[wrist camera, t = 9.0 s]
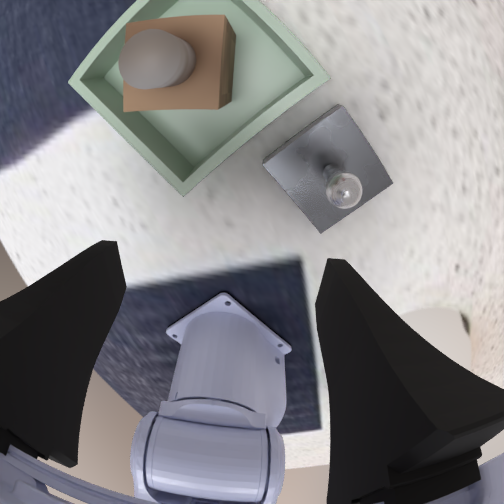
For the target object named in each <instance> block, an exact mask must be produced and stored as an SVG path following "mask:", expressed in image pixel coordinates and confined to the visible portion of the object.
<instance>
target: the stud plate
mask: <svg viewBox="0 0 504 504" xmlns="http://www.w3.org/2000/svg"><path fill="white" fill-rule="evenodd" d="M263 166H264V167H265V168H266V170H267V171H268V172H269V173H270V174H271V175H272V176H273V177H274V179H275V180H276V181H277V182H278V183H279V184H280V186H281V187H282V188H283V189H284V190H285V191H286V193H287V194H288V195H289V196H290V197H291V198H292V200H293V201H294V202H295V203H296V204H297V206H298V207H299V208H300V209H301V210H302V212H303V213H304V214H305V215H306V216H307V218H308V219H309V220H310V221H311V222H312V224H313V225H314V226H315V227H316V229H317V230H318V231H319V232H320V234H321V233H322V232H324V231H325V230H327V229H328V228H330V227H331V226H333V225H334V224H336V223H337V222H338V221H340V220H341V219H343V218H344V217H346V216H347V215H349V214H350V213H351V212H353V211H354V210H356V209H357V208H359V207H360V206H362V205H363V204H364V203H366V202H367V201H369V200H370V199H372V198H373V197H374V196H376V195H377V194H379V193H380V192H382V191H383V190H384V189H386V188H387V187H389V186H390V185H391V184H393V182H392V180H391V178H390V177H389V175H388V173H387V172H386V170H385V168H384V167H383V165H382V163H381V162H380V160H379V158H378V157H377V155H376V154H375V152H374V150H373V149H372V147H371V146H370V144H369V143H368V141H367V140H366V138H365V137H364V135H363V134H362V132H361V131H360V129H359V128H358V126H357V125H356V123H355V122H354V120H353V119H352V118H351V116H350V115H349V113H348V112H347V111H346V109H345V108H344V107H343V106H342V105H339V104H338V105H336V106H335V107H334V108H332V109H331V110H329V111H328V112H327V113H325V114H324V115H322V116H321V117H320V118H318V119H317V120H315V121H314V122H313V123H311V124H310V125H309V126H307V127H306V128H305V129H303V130H302V131H300V132H299V133H298V134H296V135H295V136H294V137H292V138H291V139H290V140H289V141H287V142H286V143H285V144H283V145H282V146H281V147H279V148H278V149H277V150H275V151H274V152H273V153H272V154H270V155H269V156H268V157H266V158H265V159H264V160H263Z"/></svg>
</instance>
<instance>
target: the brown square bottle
mask: <svg viewBox="0 0 504 504" xmlns="http://www.w3.org/2000/svg"><path fill="white" fill-rule="evenodd" d="M235 46H236V34H235V32H234V30H233V28H232V26H231V25H230V23H229V21H228V19H227V18H226V16H225V15H191V16H177V17H167V18H158V19H150V20H143V21H137V22H131V23H126V33H125V45H124V46H123V48H122V50H121V52H120V55H119V61H118V66H119V71H120V74H121V76H122V78H123V112H133V111H149V110H176V109H209V110H219V109H220V108H222V107H223V106H225V105H227V104H228V103H230V102H232V88H233V73H234V59H235Z"/></svg>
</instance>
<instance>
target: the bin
mask: <svg viewBox="0 0 504 504" xmlns="http://www.w3.org/2000/svg"><path fill="white" fill-rule="evenodd" d="M191 15H225V16H226V18H227V19H228V21H229V23H230V25H231V26H232V28H233V30H234V32H235V34H236V46H235V59H234V73H233V88H232V102H230V103H228V104H227V105H225V106H223V107H222V108H220V109H219V110H209V109H176V110H149V111H133V112H123V78H122V76H121V74H120V71H119V66H118V61H119V55H120V52H121V50H122V48H123V46H124V45H125V33H126V23H131V22H137V21H143V20H150V19H158V18H167V17H177V16H191ZM329 79H331V78H330V76H329V75H328V74H327V73H326V71H325V70H324V69H323V68H322V66H321V65H320V64H319V63H318V62H317V60H316V59H315V58H314V57H313V56H312V55H311V53H310V52H309V51H308V50H307V49H306V48H305V47H304V46H303V44H302V43H301V42H300V41H299V40H298V39H297V38H296V37H295V36H294V35H293V34H292V33H291V32H290V30H289V29H288V28H287V27H286V26H285V25H284V24H283V23H282V22H281V21H280V20H279V19H278V18H277V17H276V16H275V15H274V14H273V13H272V12H271V11H270V10H268V9H267V8H266V7H265V6H264V5H263V4H262V3H261V2H260V1H259V0H137V1H136V2H135V3H134V4H133V5H132V6H131V7H130V8H129V9H128V10H127V11H126V12H125V13H124V14H123V15H122V16H121V17H120V18H119V19H118V20H117V21H116V22H115V24H114V25H113V26H112V27H111V28H110V29H109V30H108V31H107V32H106V34H105V35H104V36H103V37H102V38H101V39H100V41H99V42H98V43H97V44H96V45H95V47H94V48H93V49H92V50H91V52H90V53H89V54H88V55H87V57H86V58H85V59H84V61H83V62H82V63H81V65H80V66H79V67H78V69H77V70H76V72H75V73H74V74H73V76H72V77H71V79H70V80H69V81H68V83H69V84H70V85H71V86H72V87H73V88H74V89H75V90H76V91H77V92H78V93H79V94H80V95H81V96H82V97H83V98H84V99H85V100H86V101H87V102H88V103H89V104H90V105H91V106H92V107H93V108H94V109H95V110H96V111H97V112H98V113H99V114H100V115H101V116H102V117H103V118H104V119H105V120H106V121H107V122H108V123H109V124H110V125H111V126H112V127H113V128H114V129H115V130H116V131H117V132H118V133H119V134H120V135H121V136H122V137H123V138H124V139H125V140H126V141H127V142H128V143H129V144H130V145H131V146H132V147H133V148H134V149H135V150H136V151H137V152H138V153H139V154H140V155H141V156H142V157H143V158H144V159H145V160H146V161H147V162H148V163H149V164H150V165H151V166H152V167H153V168H154V169H155V170H156V171H157V172H158V173H159V174H160V175H161V176H162V177H163V178H164V179H165V180H166V181H167V182H168V183H169V184H170V185H171V186H173V187H174V188H175V189H176V190H177V191H178V192H179V193H180V194H181V195H182V196H183V197H184V196H185V195H186V194H187V193H188V192H189V191H190V190H192V189H193V188H194V187H195V186H196V185H197V184H198V183H199V182H200V181H201V180H203V179H204V178H205V177H206V176H207V175H208V174H209V173H210V172H212V171H213V170H214V169H215V168H216V167H217V166H219V165H220V164H221V163H222V162H223V161H224V160H225V159H227V158H228V157H229V156H230V155H231V154H233V153H234V152H235V151H236V150H237V149H239V148H240V147H241V146H242V145H243V144H245V143H246V142H247V141H248V140H249V139H251V138H252V137H253V136H254V135H256V134H257V133H258V132H259V131H261V130H262V129H263V128H264V127H266V126H267V125H268V124H269V123H271V122H272V121H273V120H275V119H276V118H277V117H278V116H280V115H281V114H282V113H284V112H285V111H286V110H288V109H289V108H290V107H292V106H293V105H294V104H296V103H297V102H298V101H300V100H301V99H303V98H304V97H305V96H307V95H308V94H309V93H311V92H312V91H314V90H315V89H316V88H318V87H319V86H321V85H322V84H324V83H325V82H326V81H328V80H329Z"/></svg>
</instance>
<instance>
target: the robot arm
mask: <svg viewBox="0 0 504 504" xmlns="http://www.w3.org/2000/svg"><path fill="white" fill-rule="evenodd" d="M125 290H126V282H125V278H124V274H123V269H122V265H121V260H120V255H119V250H118V245H117V241H105V240H102V241H100V242H98V243H96V244H94V245H92V246H91V247H89V248H87V249H86V250H84V251H83V252H81V253H79V254H78V255H76V256H75V257H73V258H72V259H70V260H69V261H67V262H66V263H64V264H63V265H61V266H60V267H58V268H57V269H55V270H54V271H52V272H50V273H49V274H47V275H46V276H44V277H43V278H41V279H39V280H38V281H36V282H35V283H33V284H32V285H30V286H28V287H27V288H25V289H23V290H21V291H20V292H18V293H16V294H14V295H12V296H10V297H9V298H7V299H5V300H2V301H0V504H73V503H71V502H69V501H66V500H63V499H61V498H59V497H57V496H54V495H52V494H50V493H49V492H48V490H47V487H46V485H48V486H50V487H52V488H54V489H56V490H58V491H60V492H63V493H65V494H67V495H69V496H71V497H74V498H76V499H78V500H81V501H83V502H86V503H88V504H276V502H277V498H278V496H279V494H280V492H281V489H282V486H283V481H284V473H285V447H284V441H283V438H282V436H281V434H280V433H279V432H278V431H277V429H276V427H277V426H278V425H279V423H280V421H281V420H282V418H283V415H284V413H285V409H286V381H285V361H284V355H285V354H287V353H289V352H291V346H290V345H289V344H288V343H287V342H285V341H284V340H283V339H282V338H280V337H279V336H278V335H277V334H275V333H274V332H273V331H272V330H271V329H269V328H268V327H267V326H266V325H264V324H263V323H262V322H261V321H260V320H258V319H257V318H256V317H255V316H254V315H252V314H251V313H250V312H249V311H248V310H246V309H245V308H244V307H243V306H242V305H240V304H239V303H238V302H237V301H236V300H235V299H233V298H232V297H231V296H230V295H229V294H227V293H220V294H218V295H217V296H215V297H214V298H212V299H211V300H209V301H208V302H206V303H205V304H203V305H202V306H200V307H199V308H197V309H196V310H194V311H193V312H191V313H190V314H188V315H187V316H185V317H183V318H182V319H180V320H179V321H177V322H176V323H174V324H173V325H171V326H170V327H168V328H167V330H166V333H167V334H168V335H169V336H170V337H172V338H173V339H174V340H176V341H177V342H179V343H180V344H181V348H180V352H179V356H178V360H177V364H176V368H175V372H174V376H173V380H172V385H171V389H170V393H169V397H168V401H161V405H160V410H159V412H154V411H151V412H149V413H148V414H147V415H146V416H145V417H143V418H142V419H141V420H140V422H139V424H138V425H137V428H136V430H135V433H134V437H133V441H132V447H131V456H130V465H131V473H132V476H133V480H134V496H135V497H131V496H128V495H124V494H121V493H118V492H114V491H112V490H108V489H105V488H102V487H99V486H97V485H94V484H91V483H89V482H86V481H83V480H81V479H78V478H76V477H73V476H71V475H69V474H67V473H64V472H62V471H60V470H57V469H55V468H53V467H51V466H49V465H47V464H45V463H43V462H41V461H39V460H37V457H38V456H39V457H41V458H43V459H45V460H48V458H49V459H51V460H53V461H55V462H57V463H60V464H62V465H64V466H66V467H69V468H71V467H74V466H76V465H77V464H78V443H79V432H80V424H81V417H82V411H83V406H84V402H85V397H86V392H87V388H88V385H89V381H90V377H91V374H92V370H93V367H94V365H95V362H96V359H97V357H98V355H99V352H100V350H101V348H102V346H103V343H104V341H105V339H106V337H107V335H108V333H109V330H110V328H111V326H112V324H113V322H114V320H115V318H116V315H117V313H118V311H119V308H120V305H121V303H122V300H123V296H124V293H125ZM226 301H229V302H230V303H227V302H226ZM315 308H316V322H317V331H318V337H319V342H320V347H321V352H322V357H323V362H324V368H325V373H326V378H327V384H328V391H329V404H330V440H331V443H330V470H329V484H328V493H327V504H504V453H502V454H501V455H499V456H497V457H495V458H493V459H491V460H489V461H487V462H485V463H484V464H482V465H480V466H478V463H477V459H479V458H480V457H481V456H482V452H481V449H480V446H482V445H483V444H485V443H486V442H487V441H489V440H490V439H492V438H493V437H494V436H496V435H497V434H498V433H500V432H501V431H502V430H503V429H504V389H502V388H500V387H498V386H496V385H494V384H492V383H490V382H488V381H486V380H484V379H482V378H480V377H478V376H477V375H475V374H473V373H472V372H470V371H468V370H467V369H465V368H464V367H462V366H460V365H459V364H457V363H456V362H454V361H453V360H451V359H450V358H448V357H447V356H446V355H444V354H443V353H442V352H440V351H439V350H438V349H436V348H435V347H434V346H432V345H431V344H430V343H429V342H427V341H426V340H425V339H424V338H423V337H421V336H420V335H419V334H418V333H417V332H415V331H414V330H413V329H412V328H411V327H410V326H409V325H408V324H406V323H405V322H404V321H403V320H402V319H401V318H400V317H399V316H398V315H397V314H396V313H395V312H394V311H393V310H392V309H391V308H390V307H389V306H388V305H387V304H386V303H385V302H384V301H383V300H382V299H381V298H380V297H379V296H378V294H377V293H376V292H375V291H374V290H373V289H372V288H371V287H370V286H369V285H368V284H367V283H366V281H365V280H364V279H363V278H362V277H361V276H360V275H359V274H358V273H357V272H356V271H355V269H354V268H353V267H352V266H351V265H350V264H349V263H348V262H347V261H346V260H343V259H331V258H328V259H327V263H326V266H325V270H324V274H323V278H322V281H321V285H320V289H319V292H318V296H317V299H316V303H315ZM45 484H46V485H45Z"/></svg>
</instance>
